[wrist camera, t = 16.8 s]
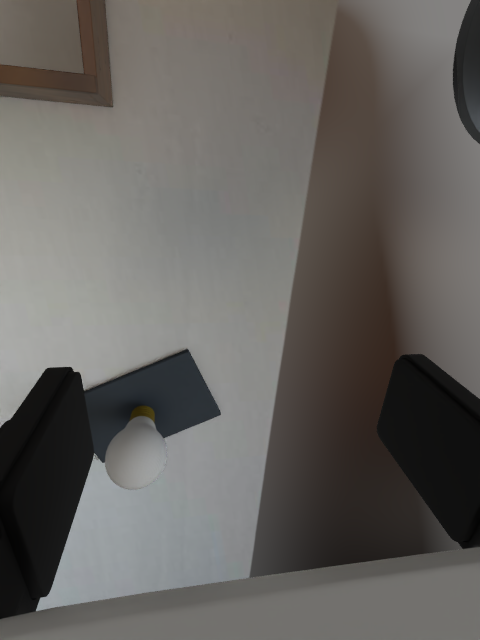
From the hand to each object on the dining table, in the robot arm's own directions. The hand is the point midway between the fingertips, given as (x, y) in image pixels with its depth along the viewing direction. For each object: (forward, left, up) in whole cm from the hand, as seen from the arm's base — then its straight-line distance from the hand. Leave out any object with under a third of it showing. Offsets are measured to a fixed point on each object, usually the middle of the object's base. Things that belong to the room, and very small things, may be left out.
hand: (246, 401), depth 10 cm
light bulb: (+14, +16, -25) cm, 33 cm away
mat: (+14, +16, -26) cm, 33 cm away
